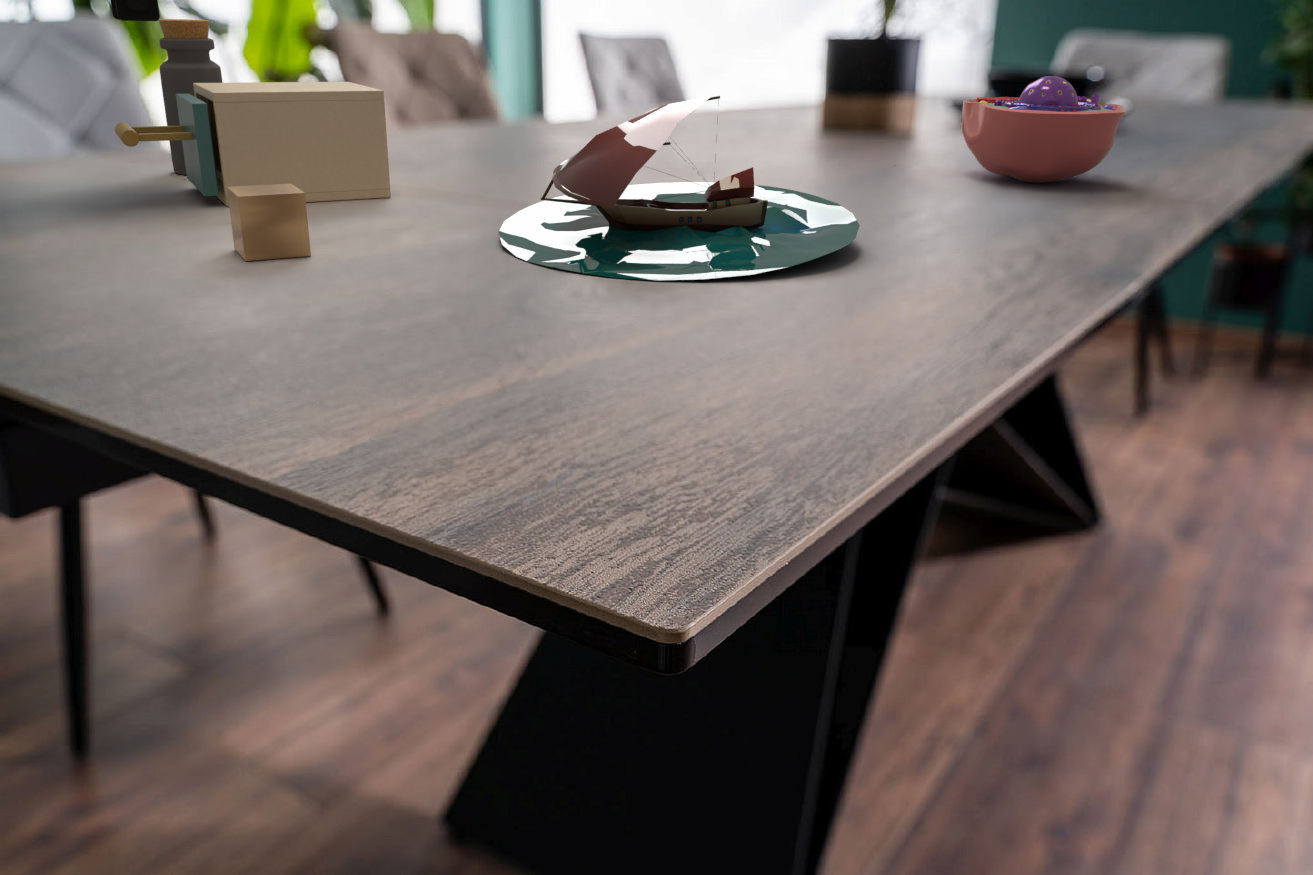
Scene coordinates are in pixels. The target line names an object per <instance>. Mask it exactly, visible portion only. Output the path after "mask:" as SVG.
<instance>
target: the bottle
mask: <svg viewBox="0 0 1313 875" xmlns="http://www.w3.org/2000/svg"><path fill="white" fill-rule="evenodd" d="M158 23H159V25H160V29H161V31H162V34H163V37H162V38H159V47H160V49H161V50H165V51H166V54H167V60H165V61H164V62H162V63H161V64H160V65H159V77H160V84H161V91H162V98H163V105H164V113H165V120H166V126H180V122H179V115H178V107H177V100H176V94H190V95H192V96H194V97H195V94H194V87H193V83H224V81H223V75H222V74H223V73H222V69H221V66H220V65H219V64H218V63H216V62H215V61H213V60H212V59H211V55H210V52H211V51H212V50H214V49H215V41H214V40H215V39H212V38H209V32H210V20H208V19H187V18H186V19H184V18H181V19H180V18H159V20H158ZM169 149H170V155H171V156H170V157H171V163H172V168H173V172H174V174H178V175H182V176H187V174H186V166H185V159H184V152H183V144H182V140H171V141H169Z"/></svg>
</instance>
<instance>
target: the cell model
mask: <svg viewBox="0 0 1313 875" xmlns="http://www.w3.org/2000/svg"><path fill="white" fill-rule="evenodd" d="M1099 97H1100V95H1099V94H1095V95H1093V96H1091V99H1090V98H1088V97H1087V96H1080V95H1077V92H1076V90H1075V88H1074V86H1073V85H1072V84H1071V83H1070V82H1069V81H1067V79H1065V78H1063V77H1061V76H1056V75H1054V76H1053V75H1052V76H1051V75H1046V76H1042V77H1039V78H1038V79H1037V80H1035V81H1032V82H1030V83H1028V85H1026V86H1025V88H1024V89H1023V91H1022V93H1021V94H1020V95H1019V97H1017V96H1016V97H1014V96H1013V97H1012V96H1011V97H1009V96H998V97H997V96H995V97H994V96H992V97H991V96H990V97H989V96H988V97H985V96H983V97H982V96H981V97H976V99H975V98H973V99H969V98H968V99H963V101H962V110H961V111H962V112H961V121H960V124H961V134H962V136H963V139H964V142H965V144H966V146H967V148H968V149H969V151H970V152H971V153H972V155H973V157H975V160H976V161H977V162H978V163H979V165H980V166H981V167H982V168H983V169H985V170H986V171H988V172H990V173H991V174H994V175H997V176H1001V177H1005V178H1006V177H1007V178H1014V179H1017V180H1020V181H1023V182H1027V183H1034V184H1038V183H1052V182H1060V181H1063V180H1066V179H1070V178H1075V177H1078V176H1080V175H1082V174H1085V173H1087V172H1089V171H1091V170H1093V169H1094V168H1095V167H1097V166H1099V164H1100V163H1102V162H1103V161H1104V159H1105V158H1106V157H1107V156H1108V155H1109V154H1110V152H1111V150H1112V148H1113V146H1114V144H1115V139H1116V134H1117V129H1118V128H1119V125H1120V123H1121V121H1122V119H1123V118H1124V116H1125V115H1126V113H1127V112H1126V109H1125V107H1124V106H1123V105H1120V104H1116V103H1099Z"/></svg>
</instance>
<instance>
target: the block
mask: <svg viewBox="0 0 1313 875" xmlns="http://www.w3.org/2000/svg"><path fill="white" fill-rule="evenodd" d="M227 192H228V200H229V207H228V208H229V215H230V223H231V224H230V225H231V231H232V238H233V239H232V241H233V248H234V251H236V253H238V256H240V257H241V258H242V259H243V260H244V261H245V262H254V261H256V262H257V261H266V260H279V259H290V258H305V257H311V256H312V251H311V241H310V240H311V239H310V231H309V221H308V220H309V219H308V211H307V202H306V198H305V192H303V191H302V190H300V189H299V188H297V187H296V186H294V185H293V184H272V185H252V186H232V187H227Z"/></svg>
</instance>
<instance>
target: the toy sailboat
mask: <svg viewBox="0 0 1313 875" xmlns="http://www.w3.org/2000/svg"><path fill="white" fill-rule="evenodd" d="M720 99H721V95H717V96H706V97H700V98H693V99H689V100H683V101H678V102H672V103H667V104H664V105H661V106H658V107H654V108H652V109H649V110H647V111H646V112H644V113H642V114H640V115H638V116H636V117H634V118H631V119H629V120H627V121H625V122H622V123H620V124H618V125H615V126H613V127H611V128H609V129H607V130H605V131H603V132H600V133H597V134H596V135H594V136H593V137H592V139H591V140H589V141H588V142H587V143H586V144H585V146H583V147H582V148H581V149H579V151H577V152H576V153H575V154H574V155H572V156H571V157H569V158H568V159H565V160H564V161H562V162H561V163H560V164H559V165H557V166H556V167H555V168H554V169H553V172H552V178H551V180H550V182H549V184H548V186H547V187H546V189H545V191H544V192H543V195H542V196H541V197H540V201H539V202H536V203H534V204H531V205H528V206H527V207H525V208H524V207H523V209H520V210H519V211H517V212H515V213H514V214H512V215H511V216H510V217H508V218H507V219H505V220H503V223H502V224H501V227H500V228H499V231H498V236H499V238H500V242H501V245H502V246H503V247H504V248H505V249H506V250H507V251H509V252H510V253H511V254H512V255H513V256H515V257H516V258H519V259H521V260H524V261H526V262H529V263H532V264H536V265H540V266H545V267H549V268H555V269H559V270H564V271H570V272H575V273H579V274H580V273H581V274H587V275H593V276H599V277H606V278H614V279H628V280H629V279H630V280H643V281H694V280H710V279H722V278H732V277H742V276H752V275H757V274H762V273H766V272H772V271H777V270H781V269H785V268H791V267H794V266H796V265H797V266H798V265H800V264H804V263H807V262H810V261H813V260H815V259H818V258H821V257H823V256H826V255H830V254H831V253H834V252H836V251H839V250H841V249H842V248H844V247H846V246H848V245H850V244H851V243H852V242H853V241H854V240H855V239H857V235H858V232H859V230H860V229H859V228H860V223H859V222H858V220H857V218H856V216H855V215H854V213H853V212H851V211H849V210H848V209H847V208H845V207H844V206H842V205H841V204H839V203H838V202H835V201H832V200H829V199H826V198H824V197H820V196H817V195H814V194H810V193H807V192H803V191H798V190H793V189H788V188H782V187H777V186H771V185H770V186H769V185H761V184H759V185H758V184H755V174H754V173H755V172H754V167H753V166H751V167H750V168H747V169H745V170H742V171H739V172H736V173H734V174H731V175H728V176H726V177H723V178H721V179H719V180H717V181H713V182H712V181H707V180H706V178H705V177H703V180H704V181H689V180H687V179H683V178H681V177H678V176H676V175H673V174H669V173H666V172H663V171H661V170H657V169H655V168H651V167H650V166H649V167H648V166H645V165H646V164H647V162H648V161H649V160H650V159H651V158H653V156H654V155H655V154H656V152H658V151H659V149H660V148H661V147H662V146H670V147H671V148H672V149H673V150H674V151H675V152H676V153H677V154H678V155H679V156H680V157H681V158H682V159H683V161H686V159H685V158H684V157H683V156H682V155H680V153H679V152H678V151H676V149H675V148H674V147H673V146H672V145H671V144H672V143H671V141H667V140H668V139H669V138H670V139H671V140H673V139H672V137H670V135H671V134H672V133H673V131H674V129H675V128H676V127H677V125H678V124H679V123H680V122H681V121H682V120H684V119H685V118H686V117H687V116H689V115H690V114H691V113H693V111H695V110H696V109H698V108H699V107H700V106H702V105H703V104H704V103H705V102H707V101H714V100H718V103H717V105H719V102H720V101H719V100H720ZM718 119H719V116H717V120H716V121H717V122H716V124H718V121H719V120H718ZM717 136H718V135H716V138H715V142H716V143H717V142H718V141H717V139H718V137H717ZM666 141H667V142H666ZM674 143H675V145H676V146H678V145H677V143H676V142H674ZM679 150H680V151H681V152H683V151H682V149H681V148H679ZM714 155H715V157H714V162H716V159H717V158H716V157H717V154H714ZM684 156H685V157H686V158H688V157H687V156H686V154H684ZM689 161H690V163H692V161H691V160H689ZM693 166H694V167H695V169H697V167H696V166H695V165H693ZM643 167H645V168H649V169H651V170H655V171H656V172H660V173H664V174H666V175H668V176H671V177H675V178H678V179H681V180H684V181H678V182H677V181H676V182H652V183H640V184H639V183H638V184H630V183H631V182H632V181H633V179H634V178H635V176H636V175H637V173H638V172H639V171H640V170H641V169H642V168H643ZM699 173H700V174H699ZM698 174H699V175H702V173H701V172H700V171H698ZM713 175H714V176H713V177H714V179H713V180H715V179H716V178H715V176H716V173H714V174H713ZM553 185H554V188H555V189H557V190H558V191H559V192H561V193H562V194H563V195H560V196H555V197H552V198H550V197H547V196H548V194H549V192H550V190H551V188H552V187H553Z"/></svg>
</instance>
